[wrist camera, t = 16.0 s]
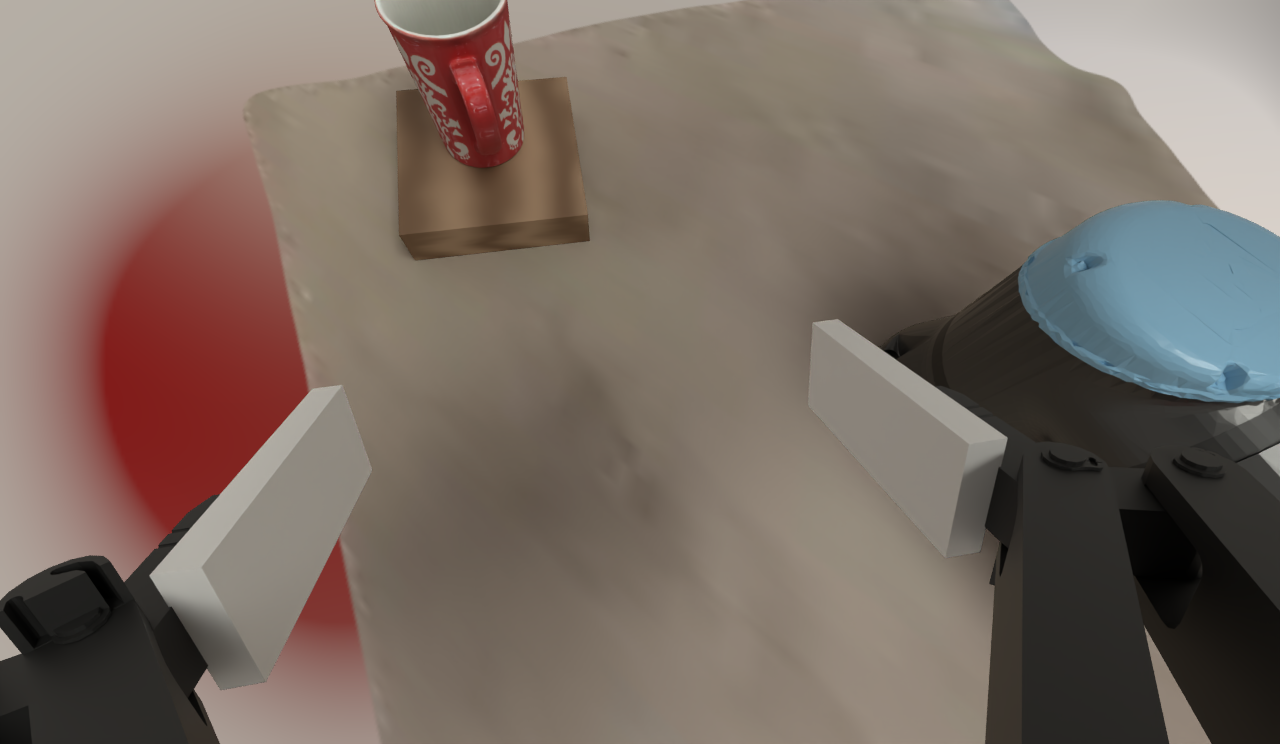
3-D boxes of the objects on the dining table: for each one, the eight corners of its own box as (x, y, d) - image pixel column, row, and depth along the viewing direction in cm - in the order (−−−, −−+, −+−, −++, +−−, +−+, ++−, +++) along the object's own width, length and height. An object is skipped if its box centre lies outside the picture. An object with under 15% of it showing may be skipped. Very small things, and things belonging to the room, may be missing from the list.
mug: (424, 109, 51) (363, -44, 39) (520, 90, 53) (492, -63, 40) (451, 219, 47) (392, 90, 35) (554, 196, 49) (534, 63, 36)
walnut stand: (569, 109, 57) (566, 76, 53) (589, 240, 52) (587, 214, 48) (410, 123, 56) (396, 90, 52) (415, 260, 50) (399, 235, 47)
